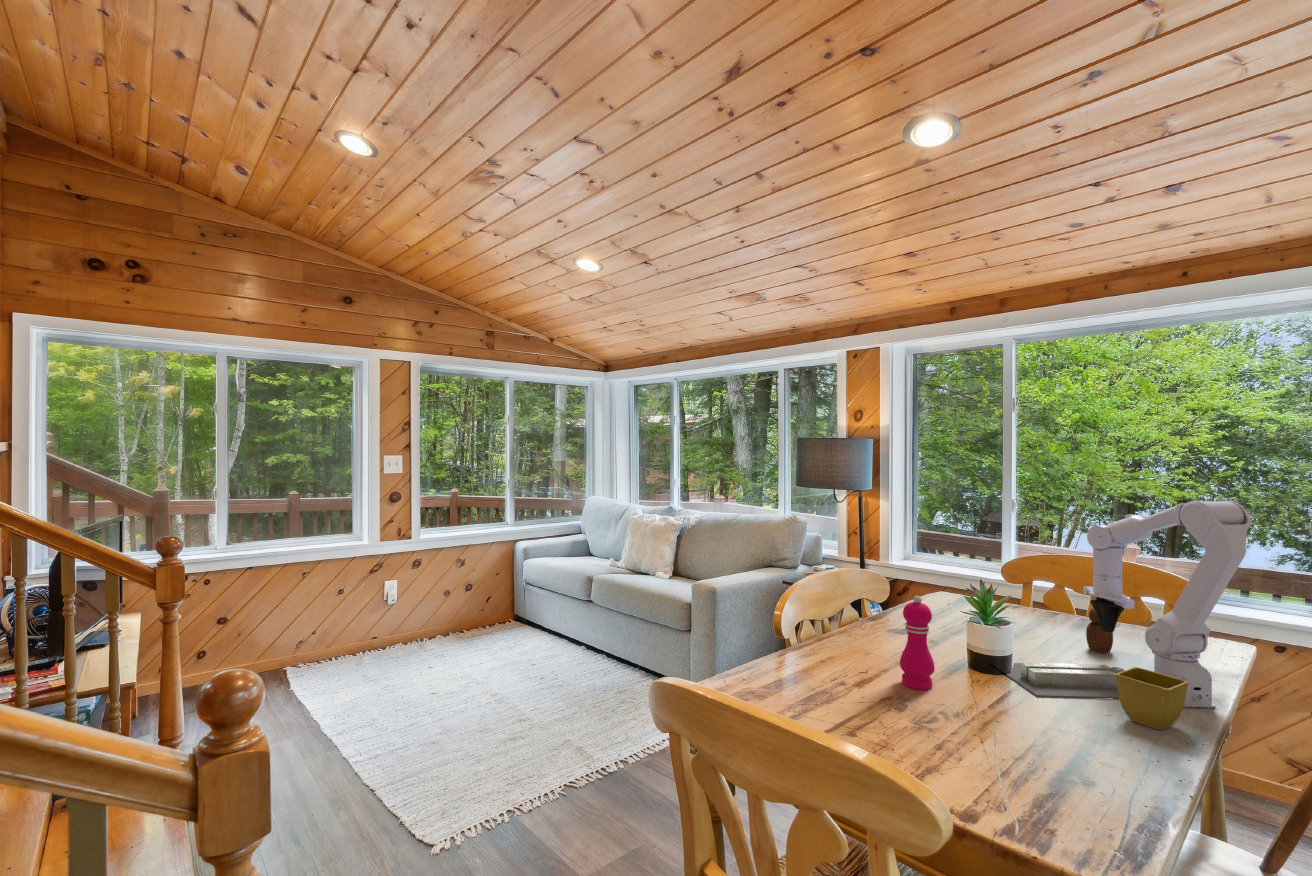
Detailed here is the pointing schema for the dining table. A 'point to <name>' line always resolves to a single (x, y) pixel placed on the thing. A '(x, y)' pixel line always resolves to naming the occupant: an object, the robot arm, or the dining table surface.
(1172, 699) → the flower pot
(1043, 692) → the mat
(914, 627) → the pepper mill
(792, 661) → the dining table surface
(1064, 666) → the hinged arm
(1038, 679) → the fixed arm
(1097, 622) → the wooden figurine
